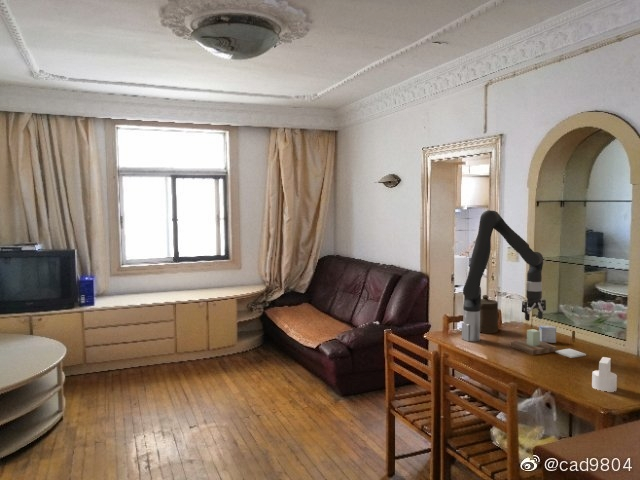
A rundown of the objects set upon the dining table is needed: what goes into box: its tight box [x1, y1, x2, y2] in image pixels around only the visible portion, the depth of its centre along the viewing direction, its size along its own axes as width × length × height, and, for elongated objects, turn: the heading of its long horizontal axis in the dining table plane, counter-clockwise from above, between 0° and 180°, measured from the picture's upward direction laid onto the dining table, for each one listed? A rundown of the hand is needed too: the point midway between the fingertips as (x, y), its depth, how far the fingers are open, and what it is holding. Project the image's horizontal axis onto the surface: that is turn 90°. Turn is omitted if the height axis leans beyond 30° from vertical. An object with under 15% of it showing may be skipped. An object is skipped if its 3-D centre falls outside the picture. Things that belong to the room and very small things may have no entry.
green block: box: [526, 328, 540, 346], centre depth 256 cm, size 4×4×10 cm
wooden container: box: [480, 294, 499, 334], centre depth 294 cm, size 15×15×22 cm
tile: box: [554, 348, 587, 359], centre depth 247 cm, size 10×10×1 cm
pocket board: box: [509, 339, 558, 356], centre depth 257 cm, size 16×16×2 cm
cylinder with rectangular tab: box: [591, 356, 618, 393], centre depth 202 cm, size 9×9×12 cm
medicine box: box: [538, 325, 557, 344], centre depth 269 cm, size 8×4×9 cm, turn 84°
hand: (533, 319), depth 255 cm, fingers open, 8 cm apart
